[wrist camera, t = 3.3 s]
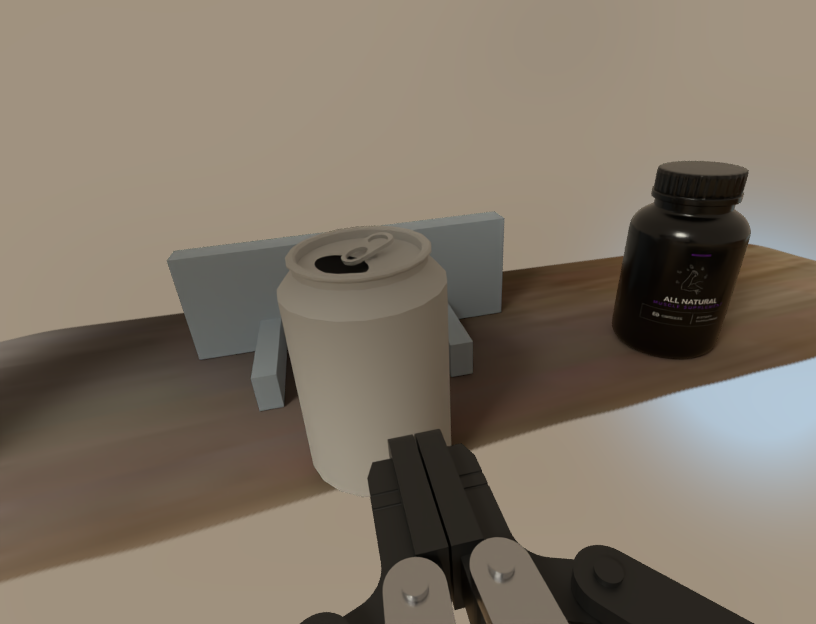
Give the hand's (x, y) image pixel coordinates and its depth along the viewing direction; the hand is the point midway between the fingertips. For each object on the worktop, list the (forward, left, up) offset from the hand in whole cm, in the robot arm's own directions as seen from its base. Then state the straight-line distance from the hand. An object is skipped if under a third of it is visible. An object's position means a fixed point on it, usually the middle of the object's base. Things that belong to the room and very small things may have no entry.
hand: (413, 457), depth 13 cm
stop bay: (0, +20, -9) cm, 22 cm away
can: (0, +9, -9) cm, 13 cm away
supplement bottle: (+21, +15, -9) cm, 28 cm away
